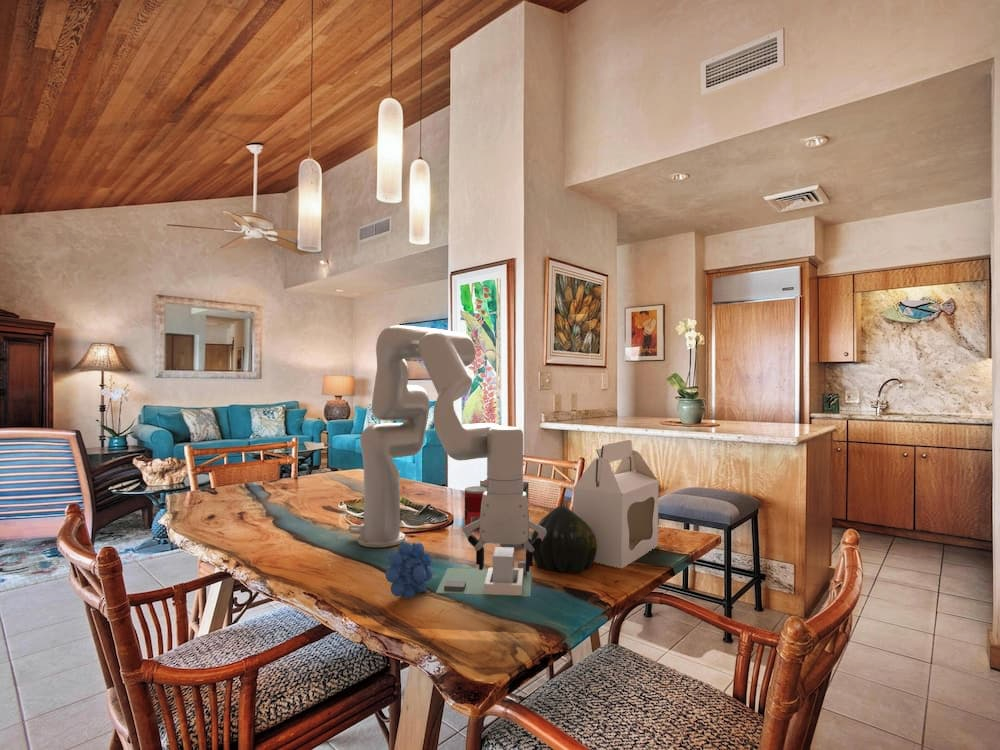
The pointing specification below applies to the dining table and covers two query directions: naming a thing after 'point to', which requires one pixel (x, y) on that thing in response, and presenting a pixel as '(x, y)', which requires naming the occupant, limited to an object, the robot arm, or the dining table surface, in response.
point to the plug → (503, 565)
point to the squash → (565, 542)
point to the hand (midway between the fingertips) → (504, 568)
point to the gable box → (619, 505)
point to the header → (504, 584)
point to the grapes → (409, 570)
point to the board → (476, 581)
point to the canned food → (473, 503)
